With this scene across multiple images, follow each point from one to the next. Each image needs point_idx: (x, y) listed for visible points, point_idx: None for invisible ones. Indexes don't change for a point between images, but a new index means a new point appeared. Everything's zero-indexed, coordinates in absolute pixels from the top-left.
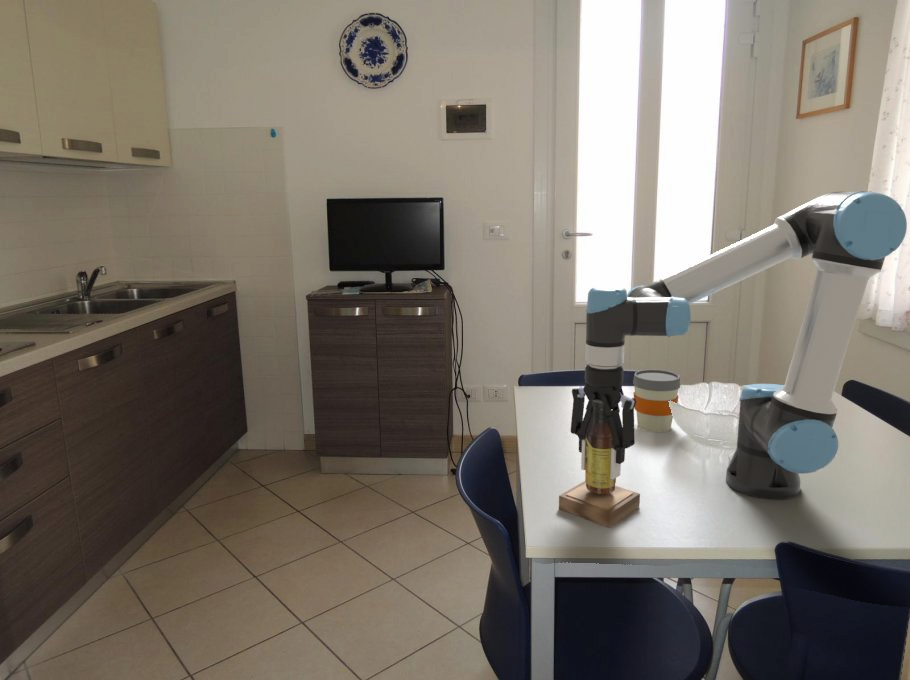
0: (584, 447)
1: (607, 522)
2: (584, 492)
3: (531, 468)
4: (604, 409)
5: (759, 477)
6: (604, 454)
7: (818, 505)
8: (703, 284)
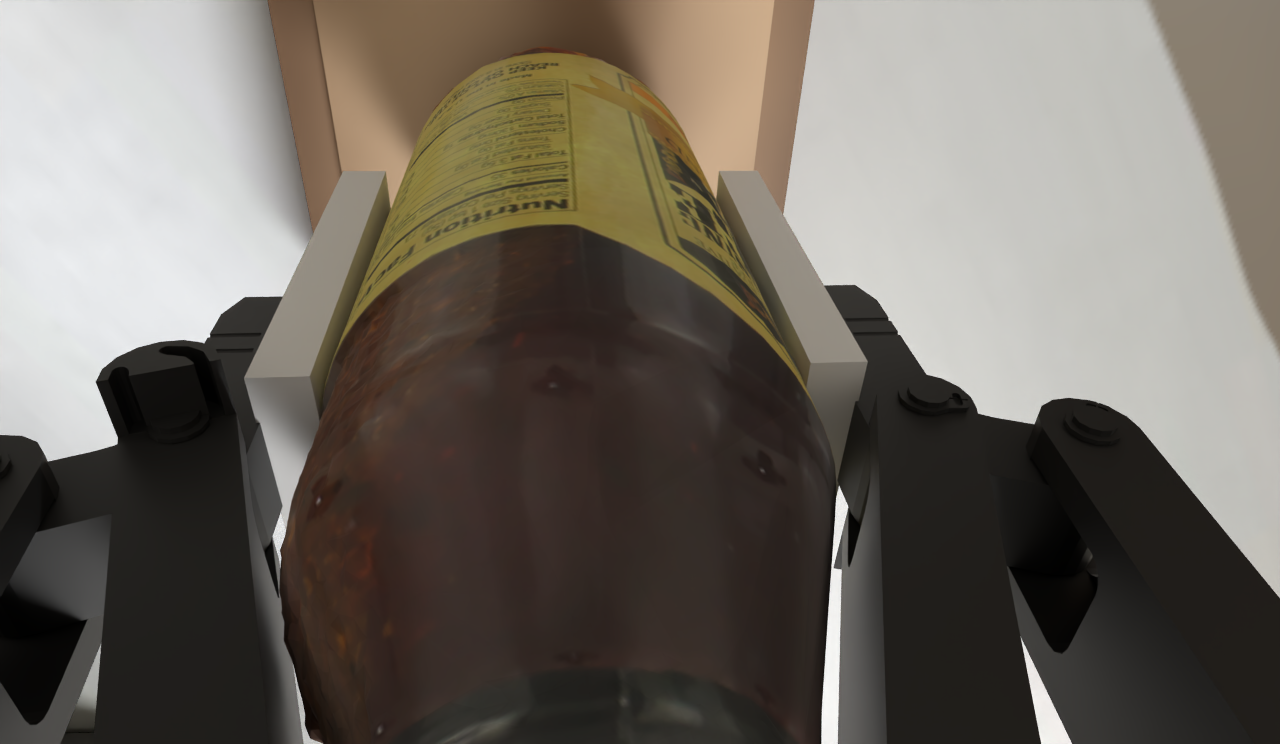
0: (789, 304)
1: None
2: (664, 80)
3: (1217, 312)
4: None
5: None
6: (390, 250)
7: None
8: None
